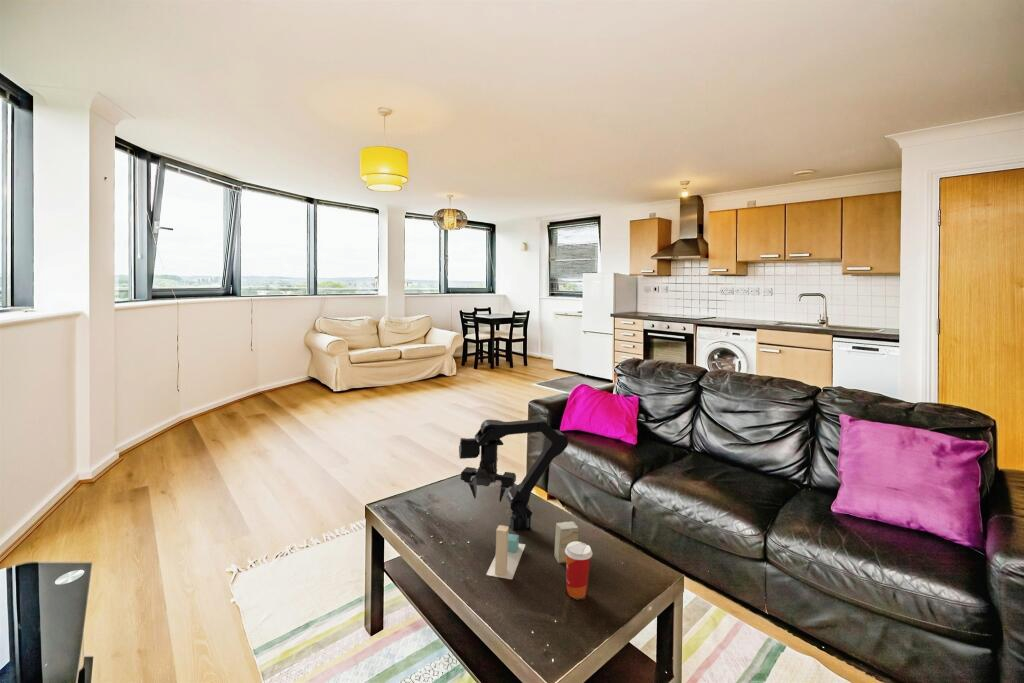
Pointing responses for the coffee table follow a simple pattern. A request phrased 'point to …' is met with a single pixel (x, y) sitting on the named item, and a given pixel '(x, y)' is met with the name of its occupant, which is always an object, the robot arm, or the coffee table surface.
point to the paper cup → (577, 568)
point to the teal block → (513, 543)
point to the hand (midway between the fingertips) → (487, 499)
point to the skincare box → (564, 538)
